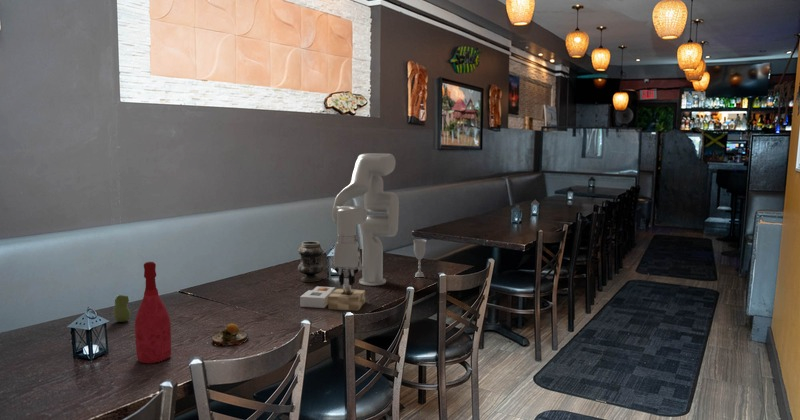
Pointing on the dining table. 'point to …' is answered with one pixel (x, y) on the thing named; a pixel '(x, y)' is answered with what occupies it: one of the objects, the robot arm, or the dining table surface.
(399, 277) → the dining table surface
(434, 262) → the dining table surface
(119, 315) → the pear
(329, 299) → the block
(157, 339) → the wine bottle
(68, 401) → the dining table surface
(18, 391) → the dining table surface
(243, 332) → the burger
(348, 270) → the drill bit
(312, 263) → the apothecary jar
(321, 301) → the socket block
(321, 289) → the release plunger
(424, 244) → the chalice
